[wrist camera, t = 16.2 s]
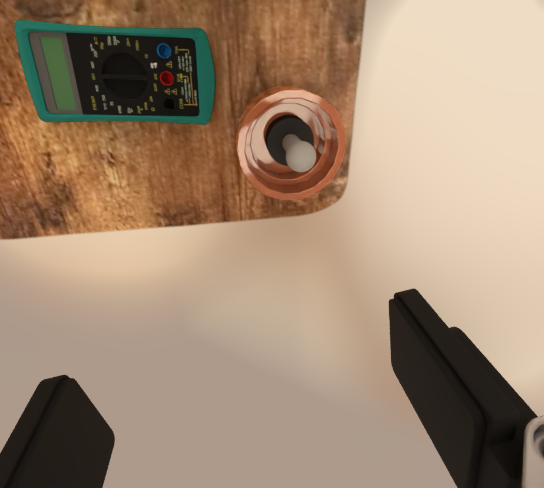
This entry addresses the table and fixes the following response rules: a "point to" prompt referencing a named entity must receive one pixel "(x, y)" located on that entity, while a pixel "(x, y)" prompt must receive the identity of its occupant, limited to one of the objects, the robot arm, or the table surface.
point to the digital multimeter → (117, 72)
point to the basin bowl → (255, 153)
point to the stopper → (291, 143)
